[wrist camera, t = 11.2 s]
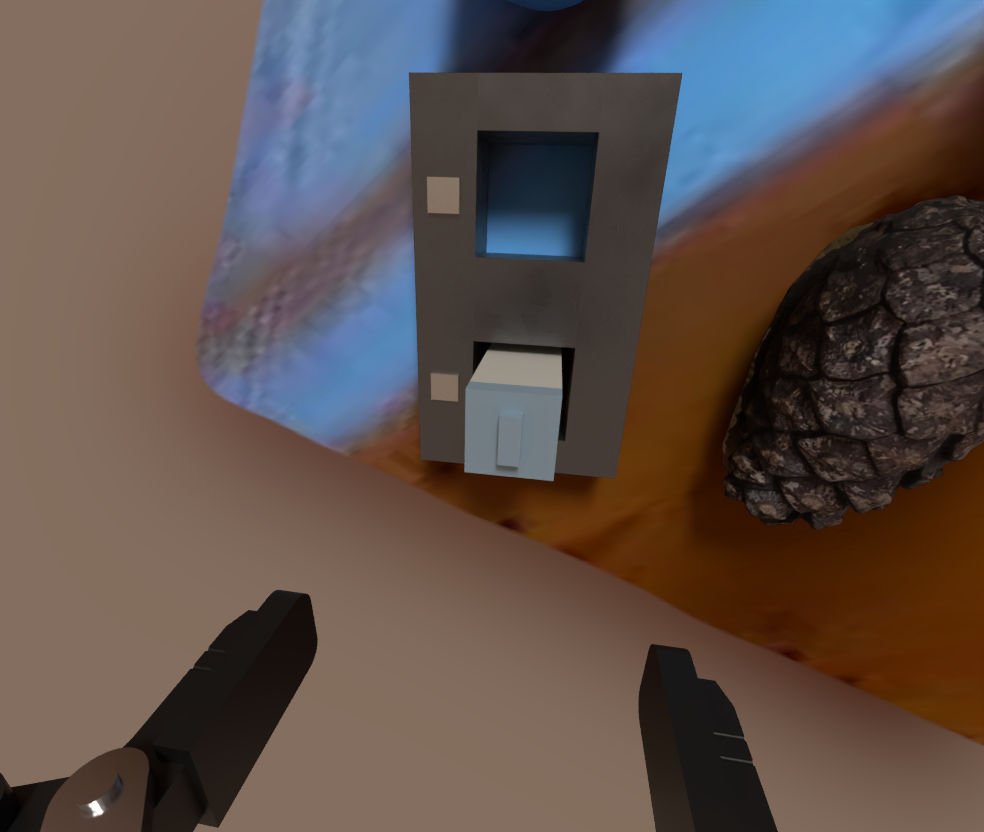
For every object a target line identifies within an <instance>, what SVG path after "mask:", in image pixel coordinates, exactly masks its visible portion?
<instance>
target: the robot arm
mask: <svg viewBox="0 0 984 832" xmlns="http://www.w3.org/2000/svg"><path fill="white" fill-rule="evenodd" d="M316 649H317V633H316V627H315V621H314V616H313V610H312V604H311V599H310V596H309V595H308V594H304V593H297V592H290V591H283V590H276V591H274V592H273V593H272V594H271V595H270V596H269V597H268V598H267V599H266V601H265V602H264V603H263V604H262V606H261V607H260V608H259V609H258V611H251V610H248V611H247V612H245V613H244V614H243V615H241V616H240V617H238V618H237V619H236V620H234V621H233V622H232V623H230V624H229V625H227V626H226V627H225V628H224V629H223V631H222V632H221V633H220V634H219V636H218V637H217V638H216V639H215V641H213V643H212V644H211V645H210V646H209V649H208V651H205V652H204V653H203V655H202V656H201V657H200V658H199V659H198V661H197V662H196V663H195V665H194V668H193V669H190V670H189V671H188V672H187V674H186V675H185V676H184V677H183V678H182V680H181V681H180V682H179V683H178V684H177V686H176V687H175V688H174V689H173V690H172V692H171V693H170V694H169V695H168V696H167V698H166V699H165V700H164V701H163V702H162V703H161V705H160V706H159V707H158V708H157V709H156V711H155V712H154V713H153V714H152V715H151V717H150V718H149V719H148V720H147V721H146V723H145V724H144V725H143V726H142V727H141V728H140V730H139V731H138V732H137V733H136V734H135V736H134V737H133V738H132V739H131V740H130V741H129V742H128V743H127V744H126V745H125V746H124V747H123V748H119V749H115V750H112V751H109V752H106V753H104V754H102V755H100V756H98V757H96V758H94V759H93V760H91V761H89V762H88V763H86V764H85V765H83V766H82V767H81V768H80V769H78V770H77V771H76V772H75V773H74V774H73V775H71V776H70V777H66V778H61V779H55V780H50V781H45V782H39V783H34V784H28V785H22V786H17V787H10V786H9V784H8V783H7V781H6V780H5V778H4V777H3V775H2V774H1V773H0V832H193V831H194V829H195V827H196V826H197V824H198V823H199V824H204V825H208V826H213V827H217V828H218V827H219V826H220V824H221V822H222V820H223V819H224V817H225V815H226V813H227V812H228V810H229V808H230V806H231V805H232V803H233V801H234V799H235V798H236V796H237V794H238V792H239V791H240V789H241V787H242V785H243V784H244V782H245V780H246V778H247V777H248V775H249V773H250V771H251V770H252V768H253V766H254V765H255V763H256V761H257V759H258V758H259V756H260V754H261V752H262V751H263V749H264V747H265V745H266V744H267V742H268V740H269V738H270V737H271V735H272V733H273V731H274V730H275V728H276V726H277V724H278V723H279V721H280V719H281V717H282V715H283V714H284V712H285V710H286V708H287V707H288V705H289V703H290V702H291V700H292V698H293V696H294V695H295V693H296V691H297V689H298V687H299V686H300V684H301V682H302V681H303V679H304V677H305V675H306V674H307V672H308V670H309V668H310V667H311V665H312V662H313V660H314V657H315V654H316ZM639 720H640V728H641V735H642V741H643V748H644V754H645V760H646V768H647V774H648V781H649V788H650V794H651V801H652V808H653V814H654V821H655V828H656V832H778V831H777V828H776V825H775V823H774V820H773V817H772V814H771V811H770V808H769V805H768V802H767V799H766V797H765V794H764V791H763V788H762V785H761V783H760V780H759V777H758V774H757V771H756V768H755V766H753V763H752V757H751V754H750V751H749V748H748V745H747V742H746V741H745V740H744V734H743V731H742V728H741V725H740V723H739V719H738V717H737V714H736V711H735V708H734V706H733V705H732V703H731V702H730V701H729V699H728V698H727V696H726V695H725V694H724V692H723V691H722V690H721V688H720V687H719V686H718V684H717V683H716V681H712V680H706V679H699V678H697V674H696V671H695V667H694V664H693V661H692V658H691V655H690V652H689V651H688V650H687V649H683V648H675V647H668V646H662V645H655V644H652V645H651V646H650V648H649V651H648V656H647V660H646V664H645V669H644V673H643V677H642V681H641V686H640V691H639Z"/></svg>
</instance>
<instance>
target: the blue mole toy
mask: <svg viewBox="0 0 984 832" xmlns="http://www.w3.org/2000/svg"><path fill="white" fill-rule="evenodd" d="M506 1H508V2H510V3H512V4H515V5H519V6H522V7H525V8H528V9H531V10H536V11H555V10H561V9H564V8H568V7H571V6H573V5H576V4H578V3H580V2H582V1H584V0H506Z"/></svg>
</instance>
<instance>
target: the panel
mask: <svg viewBox="0 0 984 832" xmlns="http://www.w3.org/2000/svg"><path fill="white" fill-rule="evenodd" d="M681 78H682V73H409V89H410V121H411V154H412V186H413V219H414V252H415V284H416V317H417V349H418V382H419V415H420V447H421V459H422V460H432V461H442V462H452V463H462V464H465V397H466V387H467V385H468V384H469V382H470V380H471V378H472V376H473V375H474V373H475V371H476V369H477V368H478V366H479V364H480V362H481V361H482V359H483V351H484V342H494V343H509V344H524V345H538V346H553V347H568V348H572V349H571V358H570V368H569V377H568V386H567V396H566V405H565V414H564V415H560V424H559V434H558V443H557V453H556V462H555V472H554V473H563V474H573V475H583V476H593V477H603V478H613V479H615V477H616V471H617V465H618V459H619V453H620V447H621V441H622V435H623V429H624V423H625V417H626V411H627V405H628V399H629V393H630V386H631V380H632V374H633V368H634V362H635V356H636V350H637V344H638V338H639V332H640V326H641V320H642V314H643V308H644V302H645V296H646V290H647V284H648V278H649V272H650V266H651V260H652V254H653V247H654V241H655V235H656V229H657V223H658V217H659V211H660V205H661V199H662V193H663V187H664V181H665V175H666V169H667V163H668V157H669V151H670V145H671V139H672V133H673V127H674V121H675V115H676V109H677V102H678V96H679V90H680V84H681ZM489 144H508V145H561V146H593V153H592V162H591V172H590V181H589V190H588V200H587V209H586V218H585V228H584V237H583V246H582V256H581V257H569V256H548V255H526V254H504V253H486V245H487V210H488V175H489Z"/></svg>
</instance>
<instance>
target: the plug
mask: <svg viewBox="0 0 984 832" xmlns="http://www.w3.org/2000/svg"><path fill="white" fill-rule="evenodd" d="M561 405H562V353H561V347H553V346H538V345H524V344H509V343H494V342H492V343H491V345H490V347H489V348H488V350H487V352H486V354H485V355H484V357H483V359H482V361H481V362H480V364H479V366H478V368H477V369H476V371H475V373H474V375H473V376H472V378H471V380H470V382H469V384H468V385H467V387H466V397H465V469H464V472H468V473H478V474H488V475H498V476H508V477H518V478H527V479H537V480H547V481H554V472H555V462H556V453H557V443H558V434H559V424H560V414H561Z"/></svg>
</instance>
